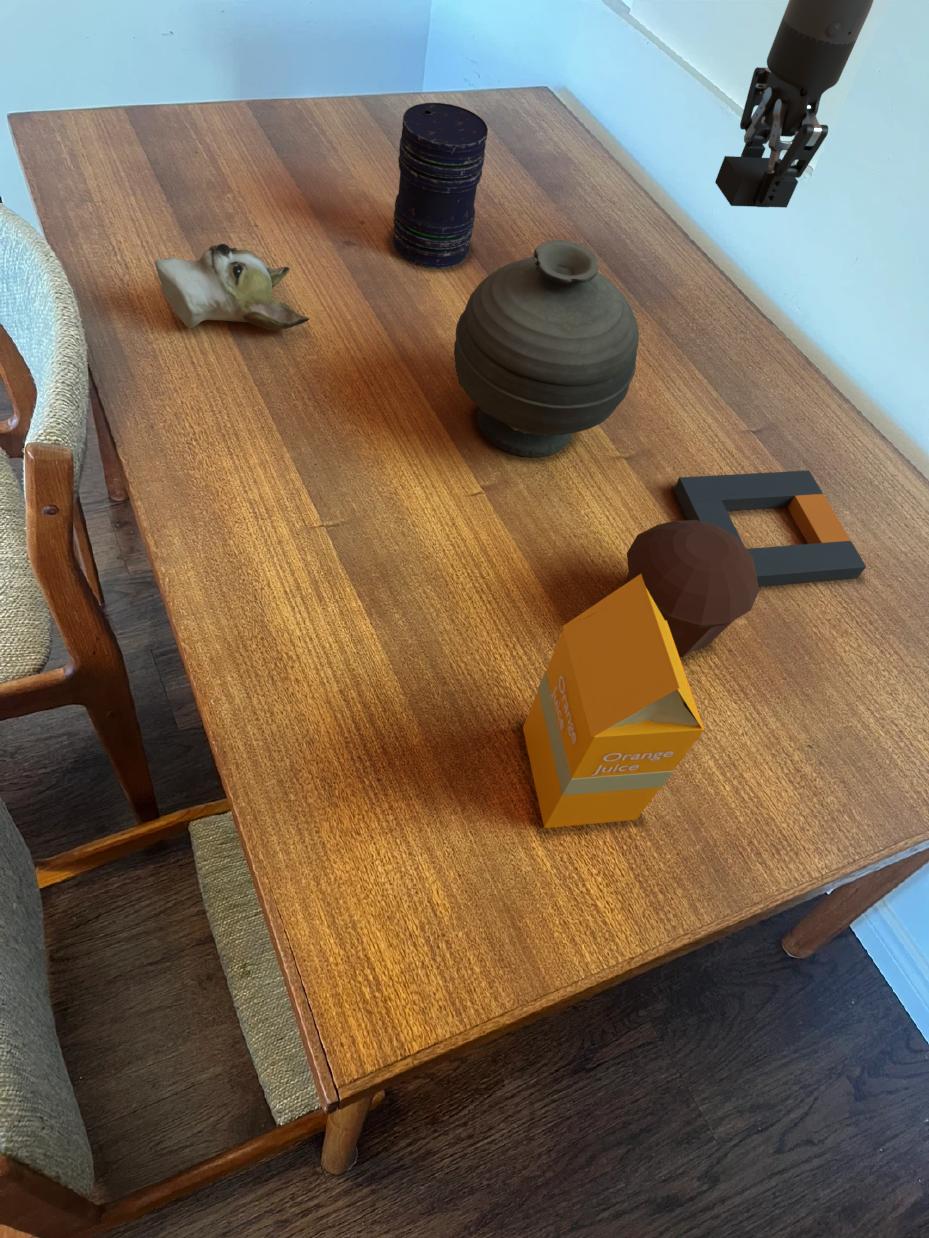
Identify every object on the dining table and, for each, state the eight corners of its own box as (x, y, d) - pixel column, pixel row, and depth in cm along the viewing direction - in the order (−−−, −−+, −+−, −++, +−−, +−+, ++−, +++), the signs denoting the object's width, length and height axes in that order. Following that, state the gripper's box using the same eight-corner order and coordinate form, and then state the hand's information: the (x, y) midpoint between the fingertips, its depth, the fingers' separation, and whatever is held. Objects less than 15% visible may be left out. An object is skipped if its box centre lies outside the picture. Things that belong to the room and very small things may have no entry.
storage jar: (485, 253, 111) (506, 132, 99) (431, 278, 106) (446, 154, 94) (430, 216, 114) (444, 94, 103) (374, 239, 109) (383, 114, 98)
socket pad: (801, 482, 94) (809, 470, 93) (857, 578, 87) (866, 566, 86) (673, 489, 91) (679, 477, 89) (720, 590, 83) (727, 578, 82)
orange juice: (610, 720, 73) (696, 570, 57) (638, 820, 68) (740, 686, 52) (520, 726, 71) (582, 574, 55) (541, 829, 66) (616, 693, 50)
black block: (769, 184, 102) (780, 158, 99) (786, 208, 99) (798, 181, 96) (714, 182, 100) (724, 156, 98) (731, 206, 97) (741, 179, 95)
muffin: (625, 672, 76) (663, 604, 68) (590, 573, 82) (621, 499, 74) (747, 661, 79) (797, 594, 71) (705, 565, 85) (746, 494, 77)
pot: (502, 508, 85) (541, 319, 70) (412, 404, 94) (429, 219, 79) (644, 462, 92) (706, 283, 77) (547, 370, 101) (586, 195, 86)
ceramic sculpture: (145, 216, 90) (290, 217, 95) (152, 290, 97) (287, 287, 102) (161, 278, 85) (314, 275, 90) (167, 352, 92) (308, 345, 97)
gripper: (889, 58, 82) (807, 228, 96) (824, -5, 90) (756, 160, 104) (819, 53, 81) (746, 227, 94) (759, -11, 89) (699, 158, 102)
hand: (752, 191), depth 99 cm, fingers closed on black block, 5 cm apart
